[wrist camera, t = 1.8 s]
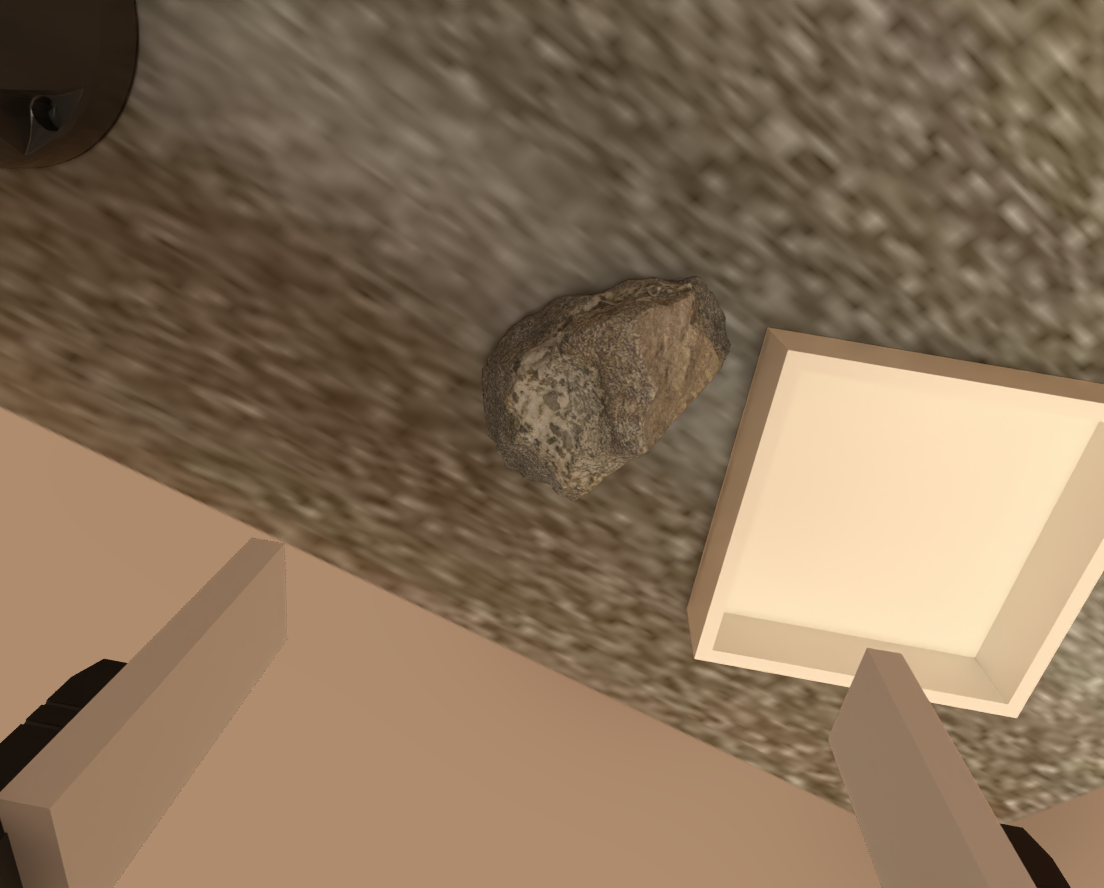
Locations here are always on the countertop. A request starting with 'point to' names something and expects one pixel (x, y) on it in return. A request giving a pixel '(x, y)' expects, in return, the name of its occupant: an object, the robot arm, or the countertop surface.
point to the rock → (600, 378)
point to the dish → (903, 520)
